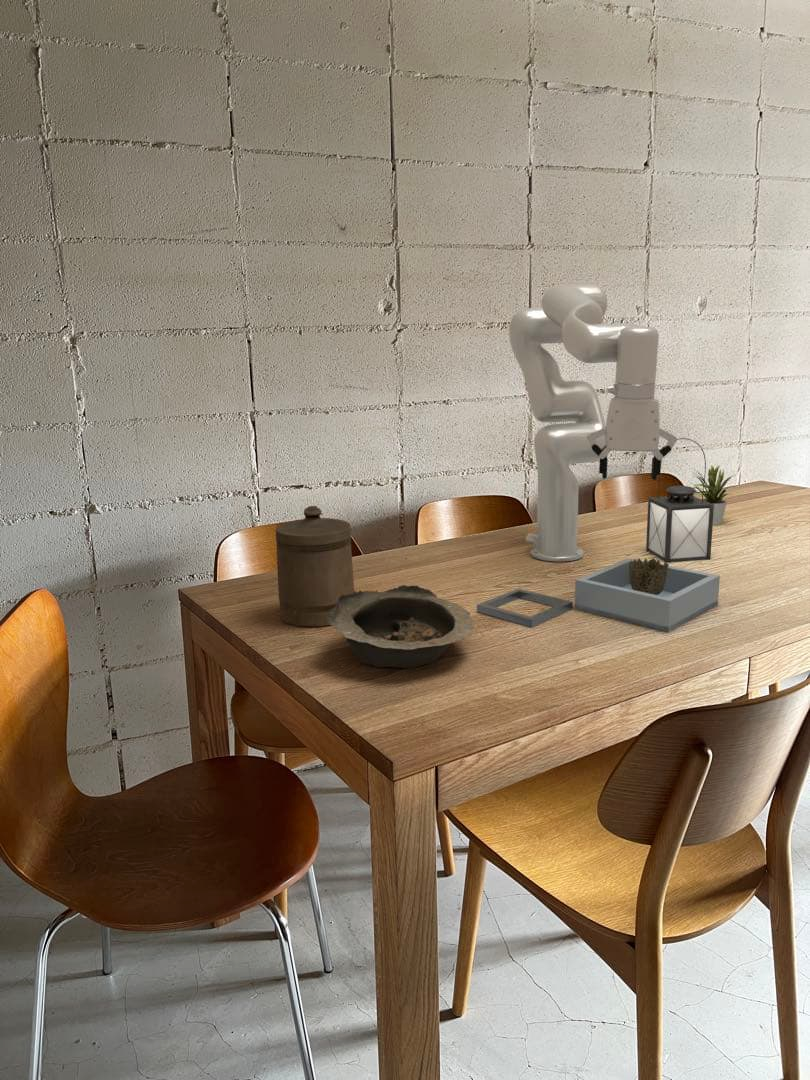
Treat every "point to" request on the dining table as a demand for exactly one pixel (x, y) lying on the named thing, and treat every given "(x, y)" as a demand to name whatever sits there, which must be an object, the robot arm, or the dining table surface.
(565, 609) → the square metal frame
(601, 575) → the bin
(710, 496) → the house plant
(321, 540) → the wooden container
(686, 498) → the lantern
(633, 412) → the robot arm
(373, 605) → the stone bowl
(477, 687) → the dining table surface
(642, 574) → the dark bronze rounded piece
